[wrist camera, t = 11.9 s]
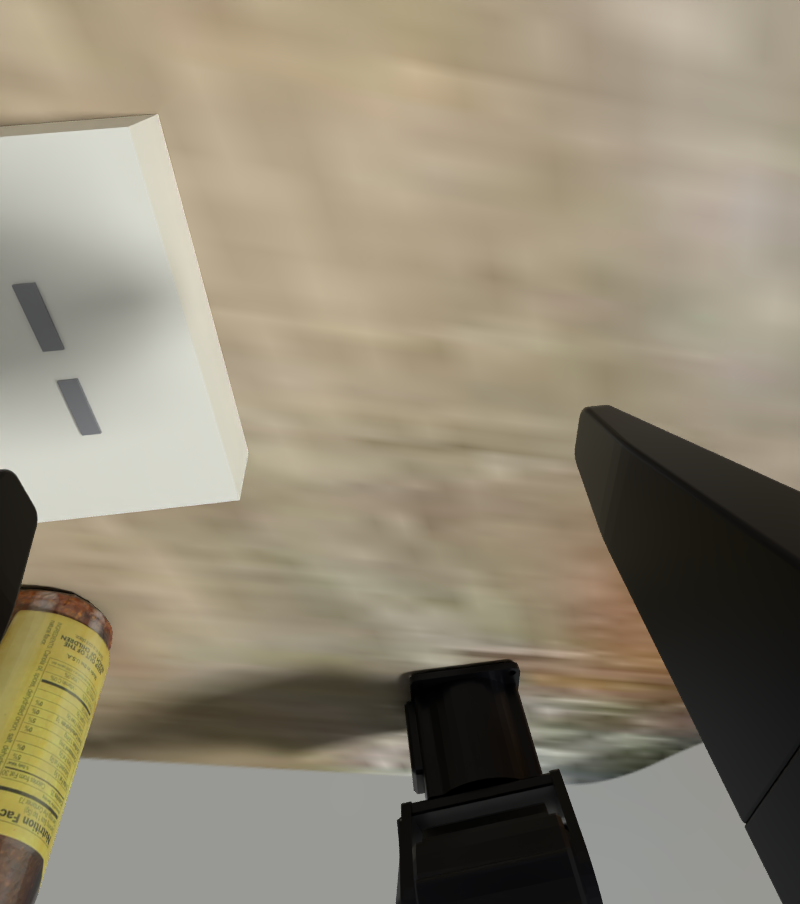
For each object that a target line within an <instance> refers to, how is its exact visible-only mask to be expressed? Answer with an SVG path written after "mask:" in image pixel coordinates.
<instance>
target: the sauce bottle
mask: <svg viewBox="0 0 800 904" xmlns="http://www.w3.org/2000/svg"><path fill="white" fill-rule="evenodd" d="M111 644H112V628H111V626H110V624H109V622H108V620H107V618H106V617H105V616H104V615H103V614H102V612H101V611H99V610H98V609H97V608H95V607H94V605H93V604H91V603H89V602H87V601H86V600H83V599H82V598H80V597H78V596H77V595H75V594H68V593H64V592H55V591H45V590H38V589H28V590H19V594H18V597H17V600H16V604H15V607H14V610H13V613H12V615H11V618H10V621H9V623H8V626H7V628H6V631H5V634H4V636H3V639H2V641H1V644H0V904H34V903H35V901H36V898H37V895H38V893H39V889H40V886H41V883H42V879H43V876H44V873H45V870H46V866H47V863H48V860H49V856H50V853H51V850H52V846H53V843H54V840H55V837H56V833H57V830H58V827H59V823H60V820H61V817H62V813H63V810H64V807H65V804H66V801H67V798H68V794H69V791H70V788H71V785H72V782H73V778H74V775H75V772H76V769H77V765H78V762H79V759H80V756H81V753H82V750H83V747H84V743H85V740H86V737H87V734H88V731H89V728H90V725H91V721H92V718H93V715H94V712H95V709H96V705H97V702H98V699H99V696H100V693H101V690H102V687H103V683H104V680H105V677H106V674H107V670H108V667H109V664H110V655H109V650H110V648H111Z"/></svg>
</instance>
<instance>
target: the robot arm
mask: <svg viewBox="0 0 800 904" xmlns="http://www.w3.org/2000/svg"><path fill="white" fill-rule="evenodd" d="M575 459H576V464H577V467H578V469H579V472H580V475H581V478H582V481H583V484H584V487H585V490H586V492H587V495H588V498H589V501H590V504H591V507H592V510H593V513H594V515H595V518H596V521H597V524H598V527H599V529H600V532H601V535H602V537H603V540H604V542H605V544H606V546H607V548H608V551H609V553H610V555H611V557H612V559H613V561H614V563H615V565H616V567H617V569H618V571H619V573H620V575H621V577H622V579H623V581H624V583H625V585H626V587H627V589H628V591H629V593H630V595H631V597H632V599H633V601H634V603H635V605H636V607H637V609H638V611H639V613H640V615H641V617H642V619H643V621H644V623H645V625H646V627H647V629H648V632H649V634H650V636H651V638H652V640H653V642H654V644H655V646H656V648H657V650H658V652H659V654H660V656H661V658H662V660H663V662H664V664H665V666H666V668H667V670H668V672H669V674H670V676H671V678H672V680H673V682H674V684H675V686H676V688H677V690H678V692H679V694H680V696H681V698H682V700H683V702H684V704H685V706H686V708H687V710H688V712H689V714H690V716H691V719H692V721H693V723H694V725H695V727H696V729H697V731H698V733H699V735H700V737H701V739H702V741H703V743H704V744H705V747H706V749H707V750H708V753H709V755H710V757H711V759H712V761H713V763H714V765H715V767H716V769H717V771H718V773H719V775H720V777H721V779H722V781H723V783H724V785H725V787H726V789H727V791H728V793H729V795H730V797H731V799H732V801H733V803H734V805H735V808H736V809H737V812H738V813H739V816H740V818H741V820H742V821H743V822H744V823H746V825H745V828H746V831H747V833H748V835H749V837H750V839H751V841H752V843H753V845H754V847H755V849H756V851H757V853H758V855H759V857H760V859H761V861H762V863H763V865H764V867H765V869H766V871H767V873H768V875H769V877H770V879H771V881H772V883H773V885H774V887H775V889H776V891H777V893H778V895H779V897H780V899H781V901H782V903H783V904H800V491H798V490H795V489H793V488H791V487H789V486H787V485H784V484H782V483H780V482H778V481H776V480H773V479H771V478H769V477H767V476H764V475H762V474H760V473H758V472H756V471H753V470H751V469H749V468H747V467H745V466H742V465H740V464H738V463H736V462H734V461H731V460H729V459H727V458H725V457H723V456H720V455H718V454H716V453H714V452H711V451H709V450H707V449H705V448H703V447H700V446H698V445H696V444H694V443H692V442H689V441H687V440H685V439H683V438H681V437H678V436H676V435H674V434H672V433H669V432H667V431H665V430H663V429H661V428H658V427H656V426H654V425H652V424H650V423H647V422H645V421H643V420H641V419H639V418H636V417H634V416H632V415H630V414H628V413H625V412H623V411H621V410H619V409H617V408H614V407H612V406H610V405H600V406H591V407H585V408H584V409H583V410H582V412H581V414H580V418H579V424H578V431H577V438H576V445H575ZM37 521H38V516H37V511H36V508H35V506H34V504H33V503H32V501H31V499H30V497H29V496H28V494H27V492H26V491H25V489H24V487H23V485H22V484H21V482H20V480H19V479H18V477H17V475H16V474H15V473H14V472H12V471H11V470H8V469H0V644H1V641H2V639H3V636H4V634H5V631H6V628H7V626H8V623H9V621H10V618H11V615H12V613H13V610H14V607H15V604H16V600H17V597H18V594H19V590H20V586H21V583H22V579H23V575H24V571H25V568H26V564H27V560H28V557H29V553H30V549H31V545H32V542H33V538H34V534H35V531H36V527H37ZM519 677H520V670H519V667H518V664H517V663H515V662H508V663H500V664H492V665H484V666H476V667H469V668H461V669H453V670H445V671H437V672H430V673H422V674H416V675H413V676H412V677H411V678H410V689H411V700H412V701H408V702H407V703H406V704H405V716H406V726H407V735H408V743H409V752H410V761H411V769H412V778H413V787H414V791H415V792H416V793H417V794H422V793H425V798H426V800H425V801H420V802H415V803H412V802H406V803H402V804H401V818H399V819H398V820H397V826H398V836H399V849H400V850H399V853H400V859H399V872H398V885H397V896H396V904H603V902H602V898H601V894H600V891H599V887H598V883H597V880H596V876H595V873H594V870H593V867H592V863H591V860H590V857H589V854H588V851H587V848H586V845H585V842H584V839H583V836H582V833H581V830H580V828H579V825H578V822H577V819H576V816H575V813H574V810H573V807H572V804H571V802H570V799H569V796H568V793H567V790H566V787H565V784H564V782H563V779H562V776H561V773H560V770H559V769H555V770H551V771H549V773H546V774H542V770H541V767H540V764H539V760H538V757H537V753H536V750H535V747H534V743H533V740H532V736H531V733H530V729H529V726H528V723H527V719H526V716H525V712H524V709H523V706H522V702H521V699H520V695H519V692H518V686H519Z"/></svg>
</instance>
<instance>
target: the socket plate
mask: <svg viewBox="0 0 800 904" xmlns="http://www.w3.org/2000/svg"><path fill="white" fill-rule="evenodd" d="M248 454H249V452H248V448H247V444H246V441H245V437H244V433H243V429H242V426H241V422H240V418H239V415H238V411H237V407H236V403H235V400H234V396H233V392H232V388H231V385H230V381H229V377H228V373H227V370H226V366H225V362H224V359H223V355H222V351H221V347H220V344H219V340H218V336H217V332H216V329H215V325H214V321H213V317H212V314H211V310H210V306H209V303H208V299H207V295H206V291H205V288H204V284H203V280H202V276H201V273H200V269H199V265H198V261H197V258H196V254H195V250H194V247H193V243H192V239H191V235H190V232H189V228H188V224H187V220H186V217H185V213H184V209H183V205H182V202H181V198H180V194H179V191H178V187H177V183H176V179H175V176H174V172H173V168H172V164H171V161H170V157H169V153H168V149H167V146H166V142H165V138H164V135H163V131H162V127H161V123H160V120H159V116H158V114H152V115H140V116H127V117H115V118H102V119H89V120H77V121H64V122H52V123H39V124H26V125H14V126H1V127H0V469H8V470H11V471H12V472H14V473H15V474H16V475H17V477H18V479H19V480H20V482H21V484H22V485H23V487H24V489H25V491H26V492H27V494H28V496H29V497H30V499H31V501H32V503H33V504H34V506H35V508H36V511H37V516H38V521H37V523H40V522H49V521H58V520H67V519H76V518H85V517H94V516H103V515H112V514H121V513H130V512H138V511H147V510H156V509H165V508H174V507H183V506H192V505H201V504H210V503H219V502H228V501H237V500H240V495H241V490H242V485H243V480H244V474H245V469H246V464H247V459H248Z"/></svg>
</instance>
